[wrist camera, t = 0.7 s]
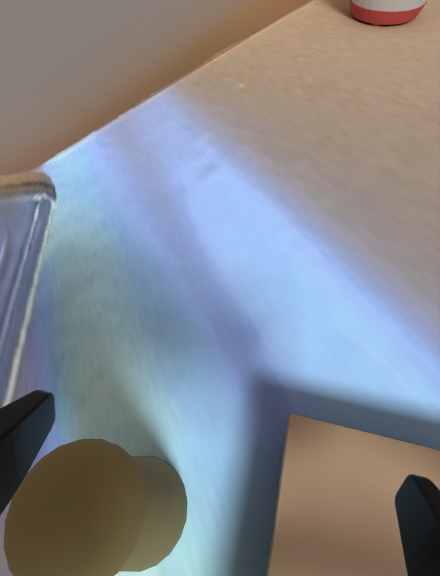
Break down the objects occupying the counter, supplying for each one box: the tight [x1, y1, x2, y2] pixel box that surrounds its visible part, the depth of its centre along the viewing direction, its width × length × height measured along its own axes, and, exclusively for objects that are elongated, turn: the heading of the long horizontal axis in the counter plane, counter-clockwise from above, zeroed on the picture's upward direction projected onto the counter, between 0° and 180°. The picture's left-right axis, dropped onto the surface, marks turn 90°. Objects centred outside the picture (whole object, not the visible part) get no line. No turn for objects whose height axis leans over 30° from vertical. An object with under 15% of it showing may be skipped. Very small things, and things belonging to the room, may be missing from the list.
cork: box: [4, 439, 187, 576], centre depth 16 cm, size 6×6×11 cm
